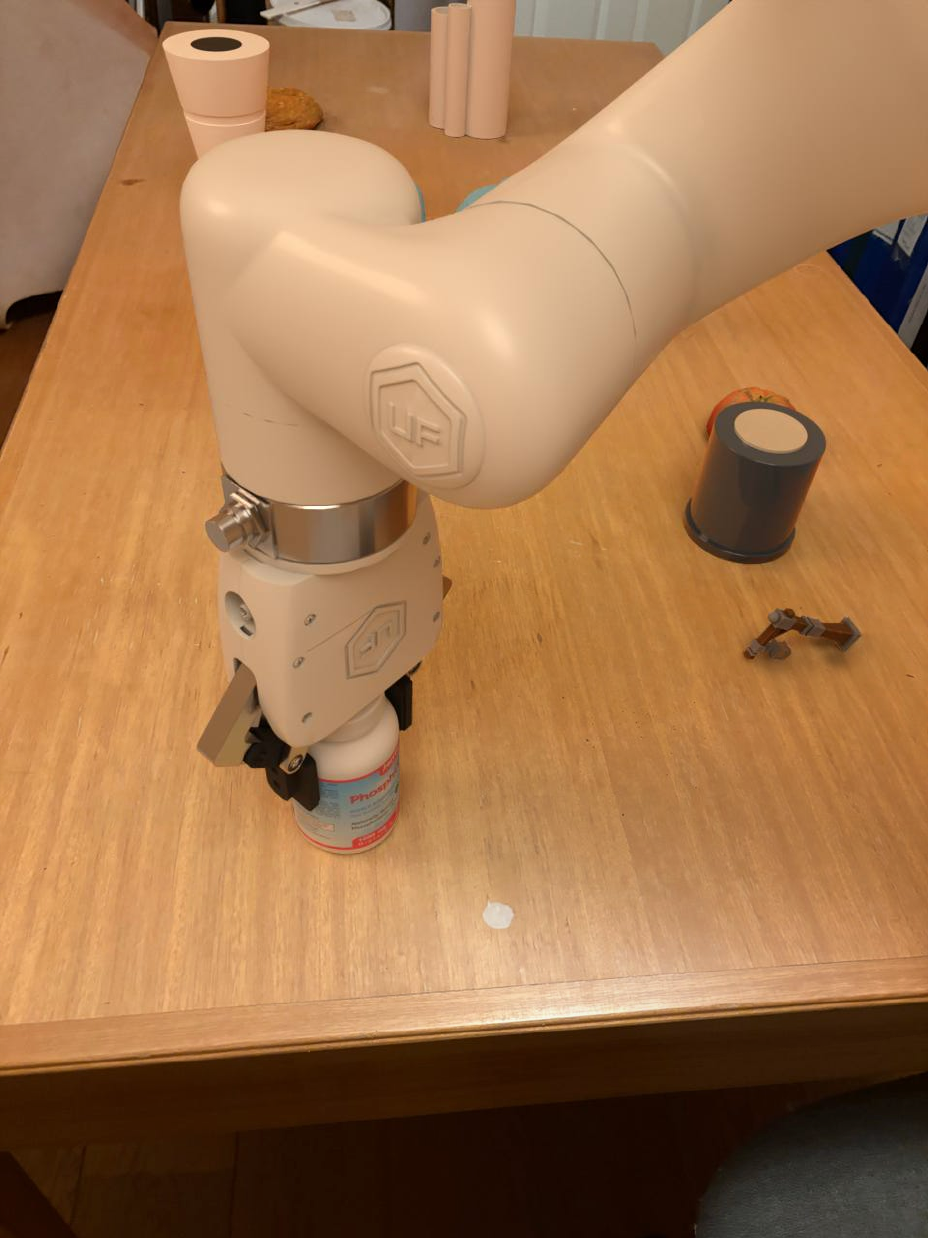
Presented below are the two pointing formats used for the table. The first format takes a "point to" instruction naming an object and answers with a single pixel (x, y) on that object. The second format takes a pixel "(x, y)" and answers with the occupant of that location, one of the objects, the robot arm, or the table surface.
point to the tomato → (747, 396)
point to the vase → (471, 67)
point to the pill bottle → (355, 783)
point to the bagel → (291, 110)
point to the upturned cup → (753, 481)
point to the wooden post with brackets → (786, 621)
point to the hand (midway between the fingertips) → (342, 750)
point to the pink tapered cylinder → (219, 83)
